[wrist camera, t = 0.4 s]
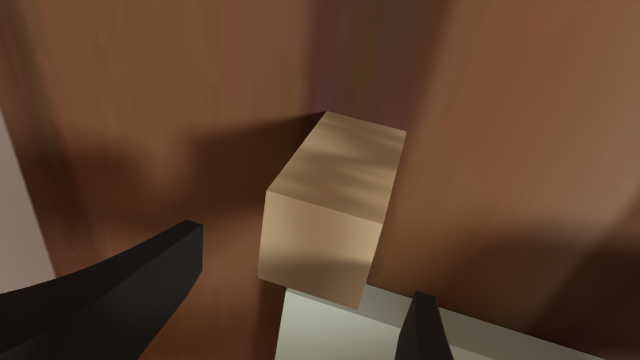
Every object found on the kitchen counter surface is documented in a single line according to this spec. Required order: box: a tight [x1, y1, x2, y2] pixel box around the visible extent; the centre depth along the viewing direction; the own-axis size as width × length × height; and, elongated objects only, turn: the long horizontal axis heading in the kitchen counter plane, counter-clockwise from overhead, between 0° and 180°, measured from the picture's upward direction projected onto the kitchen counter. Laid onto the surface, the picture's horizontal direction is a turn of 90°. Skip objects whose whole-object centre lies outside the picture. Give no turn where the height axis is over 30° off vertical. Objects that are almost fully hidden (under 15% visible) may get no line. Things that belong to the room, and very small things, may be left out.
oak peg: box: [257, 111, 406, 310], centre depth 18 cm, size 4×4×8 cm
